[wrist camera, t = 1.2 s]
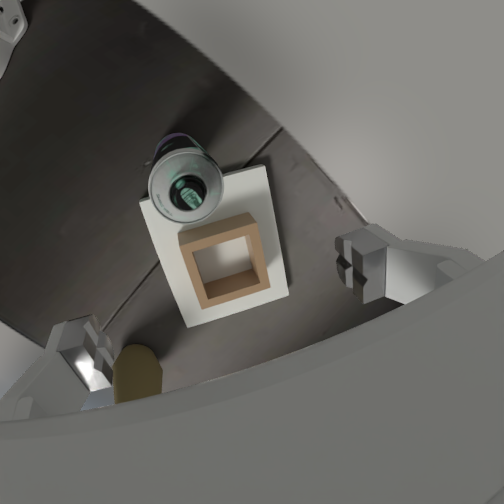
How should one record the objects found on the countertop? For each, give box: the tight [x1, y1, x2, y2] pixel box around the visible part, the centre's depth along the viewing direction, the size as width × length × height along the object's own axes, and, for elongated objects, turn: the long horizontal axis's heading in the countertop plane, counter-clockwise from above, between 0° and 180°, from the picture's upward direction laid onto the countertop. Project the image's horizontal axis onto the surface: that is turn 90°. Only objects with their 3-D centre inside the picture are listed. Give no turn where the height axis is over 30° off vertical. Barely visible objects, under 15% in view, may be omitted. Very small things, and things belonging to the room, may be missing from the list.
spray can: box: [148, 133, 224, 224], centre depth 28 cm, size 6×6×20 cm
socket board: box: [139, 164, 289, 328], centre depth 41 cm, size 20×16×6 cm
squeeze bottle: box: [112, 344, 163, 404], centre depth 40 cm, size 8×8×18 cm
